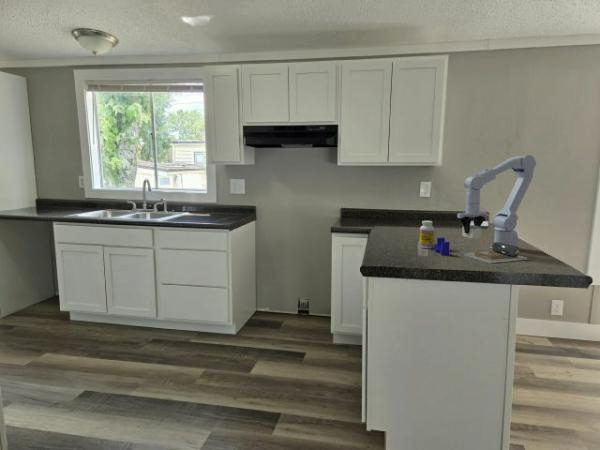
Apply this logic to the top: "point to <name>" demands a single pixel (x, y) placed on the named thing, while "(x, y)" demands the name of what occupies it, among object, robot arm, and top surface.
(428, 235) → the supplement bottle
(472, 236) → the block
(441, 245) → the cable clip
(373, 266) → the top surface
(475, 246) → the top surface
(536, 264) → the top surface
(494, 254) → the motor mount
